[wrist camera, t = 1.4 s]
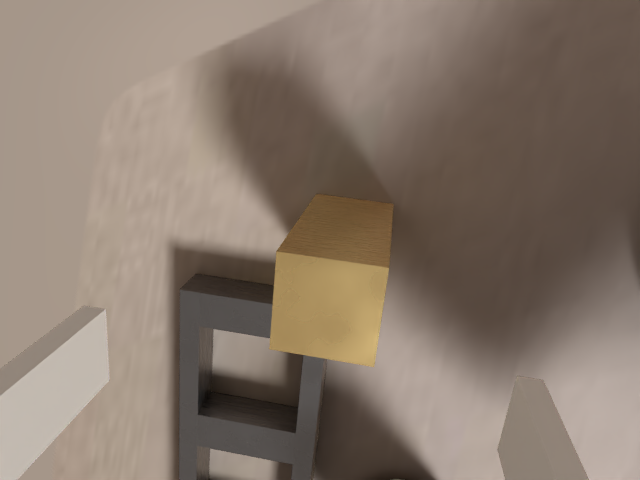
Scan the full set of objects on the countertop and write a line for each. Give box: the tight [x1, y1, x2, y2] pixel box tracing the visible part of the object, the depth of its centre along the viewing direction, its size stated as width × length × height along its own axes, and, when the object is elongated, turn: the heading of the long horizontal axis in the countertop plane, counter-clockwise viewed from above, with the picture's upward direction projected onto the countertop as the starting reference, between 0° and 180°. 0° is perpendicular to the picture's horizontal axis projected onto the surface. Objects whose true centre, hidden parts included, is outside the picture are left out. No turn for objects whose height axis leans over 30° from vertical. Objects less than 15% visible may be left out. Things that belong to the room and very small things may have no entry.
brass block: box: [269, 194, 394, 367], centre depth 25 cm, size 4×4×10 cm
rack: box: [179, 274, 327, 480], centre depth 34 cm, size 9×20×2 cm, turn 174°
